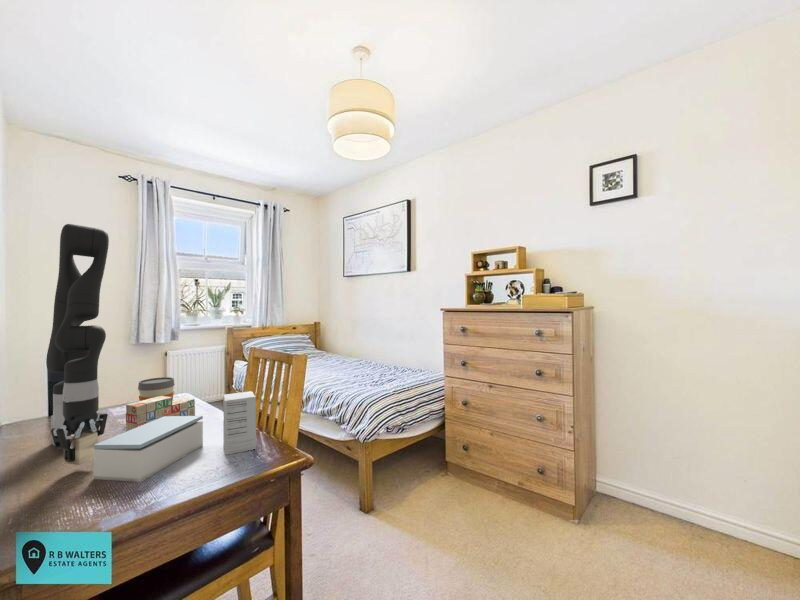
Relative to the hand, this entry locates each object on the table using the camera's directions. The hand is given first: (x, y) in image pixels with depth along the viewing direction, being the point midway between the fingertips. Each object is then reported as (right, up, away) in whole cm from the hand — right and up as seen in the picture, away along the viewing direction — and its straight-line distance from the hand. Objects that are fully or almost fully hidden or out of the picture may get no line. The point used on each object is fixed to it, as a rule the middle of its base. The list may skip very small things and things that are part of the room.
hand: (80, 456), depth 100 cm
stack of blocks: (+2, -4, +32) cm, 32 cm away
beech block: (0, -1, 0) cm, 1 cm away
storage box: (+17, -4, +6) cm, 18 cm away
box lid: (+16, +5, +6) cm, 18 cm away
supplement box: (+38, -4, +15) cm, 41 cm away
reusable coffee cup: (-11, -4, +48) cm, 49 cm away
